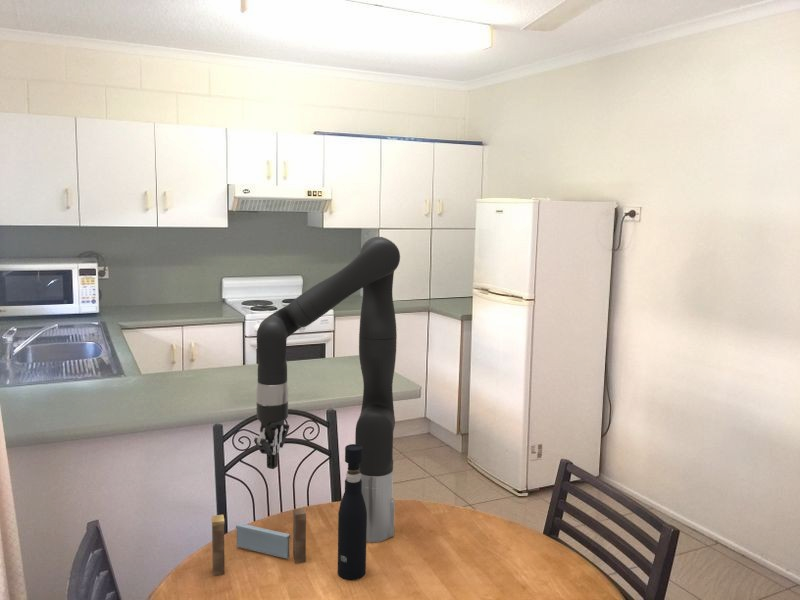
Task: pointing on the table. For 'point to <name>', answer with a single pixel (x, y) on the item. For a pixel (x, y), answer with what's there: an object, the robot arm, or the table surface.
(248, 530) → the gate
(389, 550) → the table surface
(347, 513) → the black water bottle
